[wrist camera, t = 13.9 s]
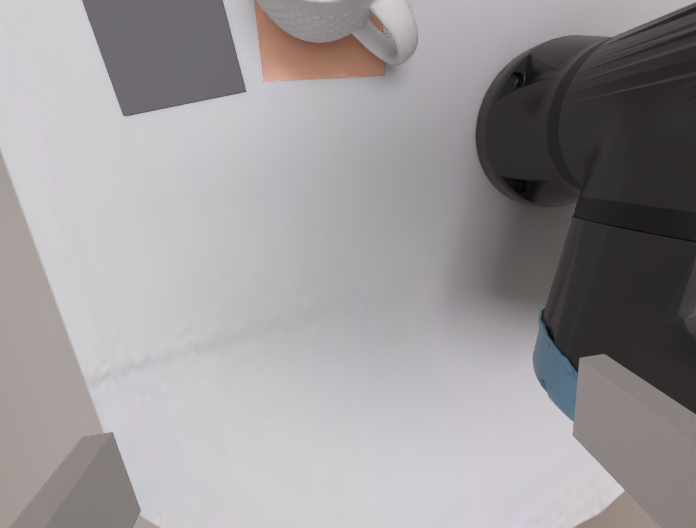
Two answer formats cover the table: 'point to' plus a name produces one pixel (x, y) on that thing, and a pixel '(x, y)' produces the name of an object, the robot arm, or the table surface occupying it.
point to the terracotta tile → (312, 54)
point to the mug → (349, 23)
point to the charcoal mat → (165, 51)
